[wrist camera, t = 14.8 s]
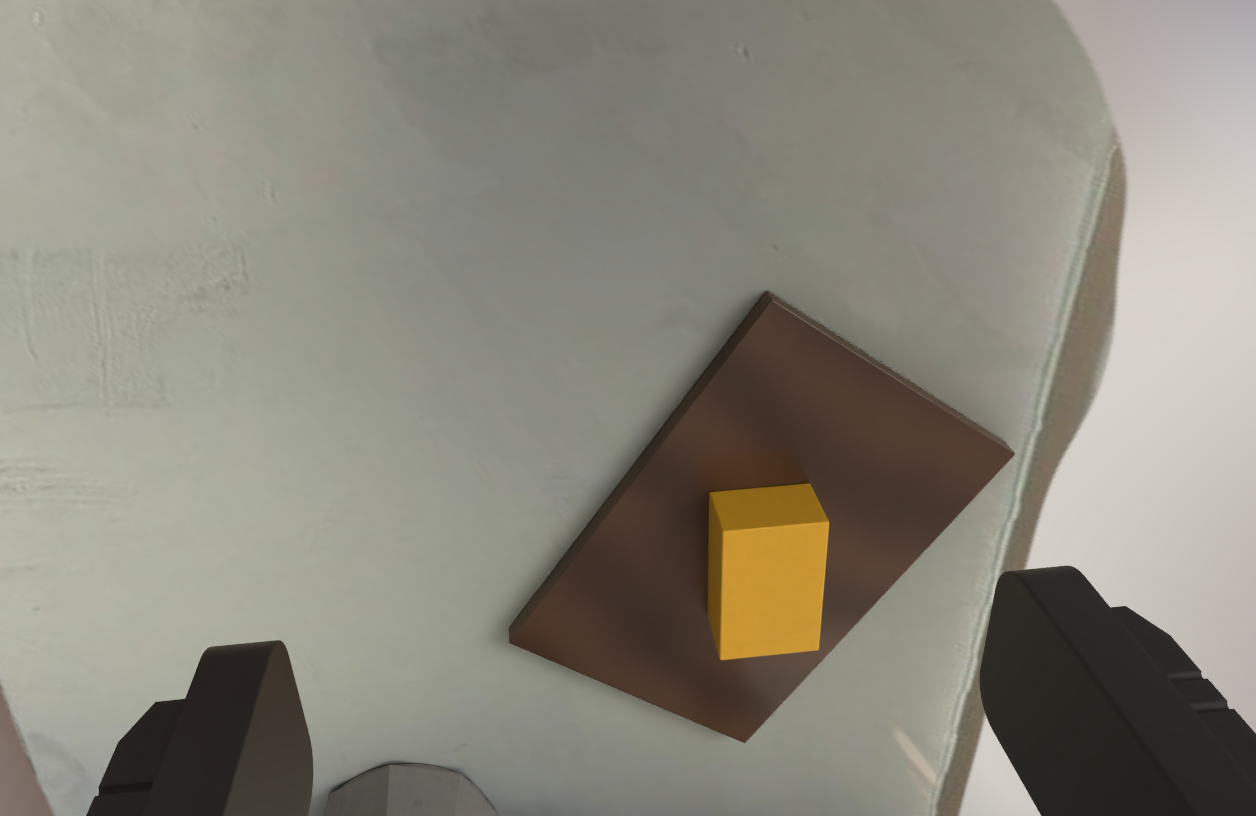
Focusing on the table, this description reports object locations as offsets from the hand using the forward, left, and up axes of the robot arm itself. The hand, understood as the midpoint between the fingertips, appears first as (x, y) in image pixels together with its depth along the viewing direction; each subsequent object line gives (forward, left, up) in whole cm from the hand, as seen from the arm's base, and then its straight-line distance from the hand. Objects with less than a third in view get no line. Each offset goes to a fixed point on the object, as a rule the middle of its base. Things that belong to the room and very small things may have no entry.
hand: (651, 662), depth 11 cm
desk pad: (+11, +18, -28) cm, 35 cm away
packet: (+11, +18, -27) cm, 34 cm away
